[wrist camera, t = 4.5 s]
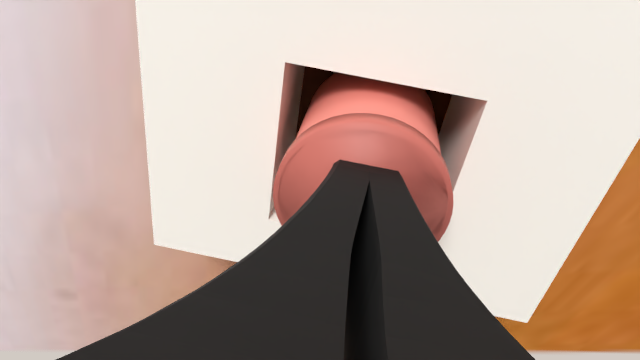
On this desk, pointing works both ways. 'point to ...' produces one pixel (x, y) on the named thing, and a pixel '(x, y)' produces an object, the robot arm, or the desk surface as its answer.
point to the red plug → (368, 144)
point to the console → (407, 69)
